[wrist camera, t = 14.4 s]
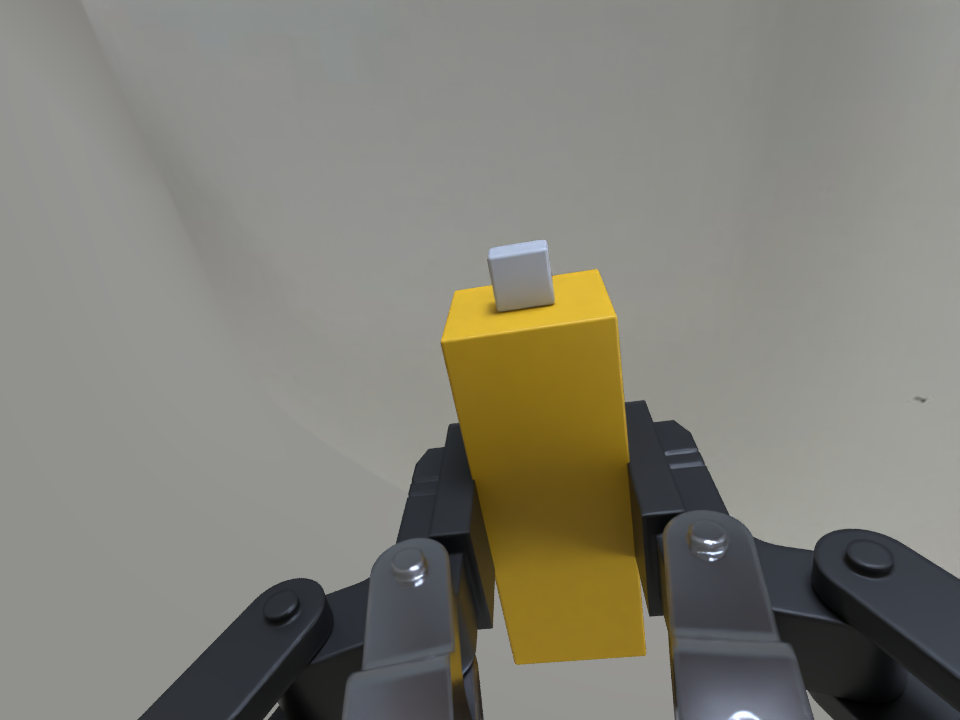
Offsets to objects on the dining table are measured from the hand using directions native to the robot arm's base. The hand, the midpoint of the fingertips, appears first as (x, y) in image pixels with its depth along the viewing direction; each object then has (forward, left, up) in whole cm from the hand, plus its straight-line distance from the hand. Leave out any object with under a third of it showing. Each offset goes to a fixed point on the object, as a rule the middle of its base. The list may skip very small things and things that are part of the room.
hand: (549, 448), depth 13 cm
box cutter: (0, 0, 0) cm, 0 cm away
